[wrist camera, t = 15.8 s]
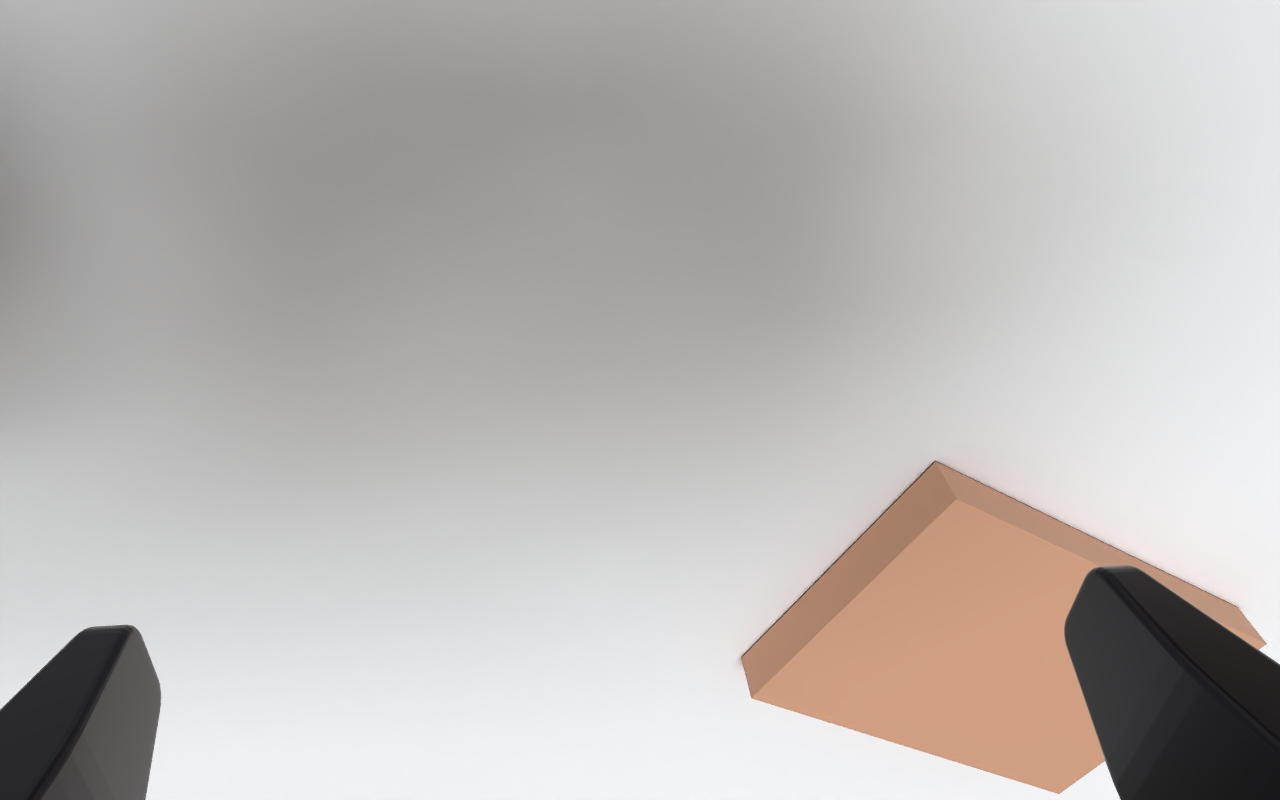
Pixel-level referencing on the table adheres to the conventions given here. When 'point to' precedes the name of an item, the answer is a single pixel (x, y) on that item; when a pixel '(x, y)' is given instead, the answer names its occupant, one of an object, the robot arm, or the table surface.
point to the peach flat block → (955, 634)
